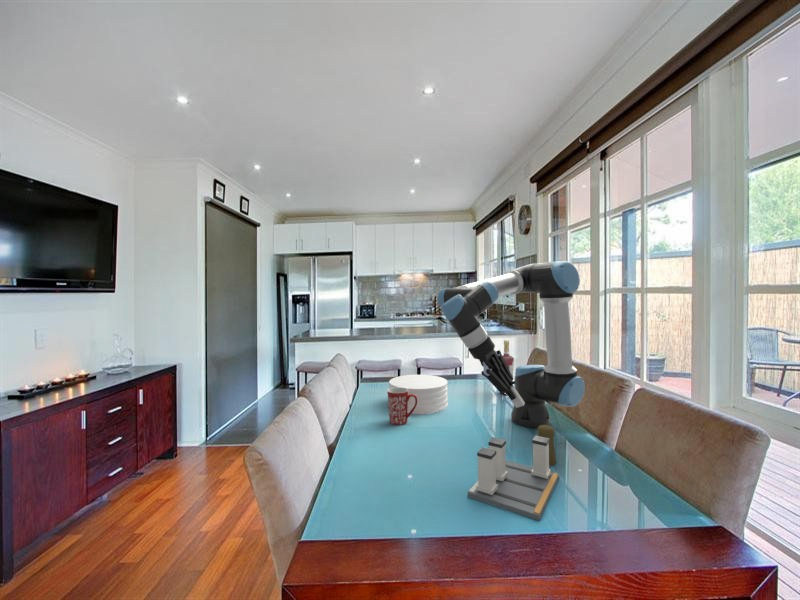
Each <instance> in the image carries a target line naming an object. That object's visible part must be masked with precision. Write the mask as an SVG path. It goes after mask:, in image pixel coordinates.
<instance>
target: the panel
mask: <svg viewBox="0 0 800 600" xmlns="http://www.w3.org/2000/svg"><path fill="white" fill-rule="evenodd" d="M532 469H533V466H529V465H526V464H521V463H518V462H514V461H511V460H508V459H507V460H506V471H507V472H508V475H507V477H506V478H505V479H504V481H500V480H496V484H498V489H497V490H496V491H495V493H494V494H493V495H490V494H487V493H484V492H481V491H478V490H476V486H477V485H478V480H476V481H475V483H474V484H473V485H472V486H471V487H470V488H469V490H468V491H467V497H468V498H470V499H473V500H476V501H480V502H483V503H485V504H489V505H491V506H495V507H498V508H501V509H504V510H507V511H510V512H513V513H514V514H515V513H516V514H517V515H521V516H523V517H527V518H531V519H533V520H536V521H539V522H540V521H541V518H542V516H543V514H544V512H545V510H546V508H547V506H548V503H549V501H550V500H551V499H550V498H551V497H552V495H553V493H554V491H555V489H556V486H557V484H558V482H559V480H560V473H556V472H553V471H551V474H550V476H549V477H548V479H546V478H542V477H538V476H535V475H531V471H532Z"/></svg>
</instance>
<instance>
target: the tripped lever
mask: <svg viewBox="0 0 800 600" xmlns="http://www.w3.org/2000/svg"><path fill="white" fill-rule="evenodd" d="M531 444H532V467H533V469H532V471H531V475H535V476H538V477H542V478H546V479H548V477H549V476H550V474H551V472H552V470H551V469H550V466H549V438H545V437H541V436H539V435H534V437H533V438H532V440H531Z"/></svg>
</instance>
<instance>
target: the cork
mask: <svg viewBox="0 0 800 600" xmlns="http://www.w3.org/2000/svg"><path fill="white" fill-rule="evenodd" d="M536 429H537V430H536V431H537V432H536V433H537V436H541V437H545V438H549V467H550V466H551V467H552V466H556V465H557V455H556V447H555V440H554V438H555V435H556V430H555V428H554V426H553V427H552V426H551V425H541V426H539V427H538V428H536Z"/></svg>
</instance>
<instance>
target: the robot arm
mask: <svg viewBox="0 0 800 600" xmlns="http://www.w3.org/2000/svg"><path fill="white" fill-rule="evenodd" d="M580 279H581V278H580V274H579V271H578V269H577V267H576V266H575V265H574V264H573V262H570V261H567V260H557V261H549V262H547V261H546V262H538V263H536V262H534V263H530V264H527V265H523V266H520V267H517V268H514V269H510V270H508V271H507V272H505V274H502V275H499V276H494V277H490V278H486V279H483V280H482V279H481V280H478V281H475V282H469V283H467V284H464V285H459V286H455V287H446V288H442V289H440V291H438V293H437V296H436V301H437V304H438V306H439V308H440V309H441V311H442V313H443V315H444V316H445V318H446V320H447V321H448V323H449V324H450V326H452V328H453V330H454V331H455V332H456V333H457V336H458V337H459V338H460V340H461V341H462V343H463V344H464V346H465V347H466V348H467V349H468V352H469V354H470V355H471V356H472V358H473V359H474V360H478V361H479V362H480V365H481V366H482V367H483V368H482V369H483V370H481V372H480V373H481V375H482V376H483V377H485V378H486V379H487V380H488V381H489V382H490V383H491V385H493V387H495V389H496V390H497V391H498V392H499V393H500V394H503V392H506V394H507V395H506V396H508V398H509V400H511V403H512V404H513V408H512V411H511V414H510V415H511V416H510V418H511V421H512V422H513V423H514V424H516V425H518V426H522V427H527V428H535V429H538V427H539V426H541V425H548V426H551V416H550V414H549V410H548V408H547V405H546V402H549V403H553V404H555V405H559V406H562V407H569V408H572V407H575V406H577V405H578V404H579V403H581V401H582V399H583V397H584V395H585V391H586V390H585V389H586V384H585V383H586V382H585V381H584V379H583V378H582V377H581V376H580V375H578V369H577V368H576V367H575V366H574V365H573V357H572V355H573V354H572V338H571V337H572V335H571V334H572V333H571V317H570V316H571V315H570V301H571V300H572V299H573V298H574V293H576V292H577V291H578V289H579V286H580V283H581V280H580ZM522 293H525V294H539V295H538V296H539V300H541V301H542V302H543V306H544V308H543V309H544V324H545V329H544V330H545V344H546V360H547V361H546V362H547V364H546V365H544V364H525V365H519V366H517V367H516V368H515V373H514V374H515V375H513V376H512V374H511V373H510V371H509V369H508V367H507V365H506V363H505V361H504V359H503V357H502V356H503V354H502V351H501V350H500V349H499V350H495V347H496V344H495V343H494V342H493V340H492V339H491V337H490V336H489V335H488V332H487V331H486V330H485V328H484V327H483V325H482V324H481V322H480V321H479V319H478V317H480V315H482V314H483V313H485V311H487V310H488V309H490V307H492V306H493V305H494V304H495V302H497V300H498V299H499V297H503V296H505V295H509V294H511V295H517V294H518V295H519V294H522ZM512 380H513V382H512ZM514 385H515V386H514Z"/></svg>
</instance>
